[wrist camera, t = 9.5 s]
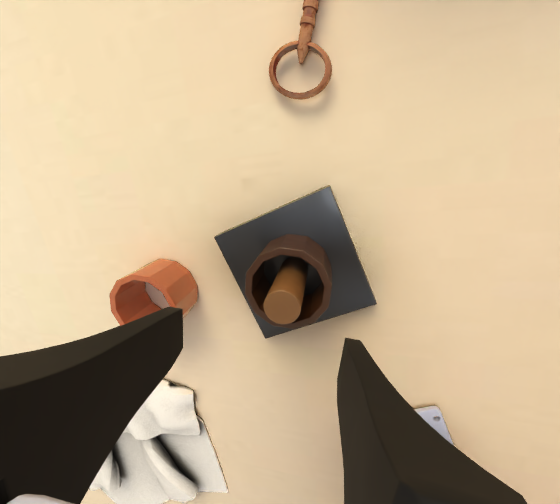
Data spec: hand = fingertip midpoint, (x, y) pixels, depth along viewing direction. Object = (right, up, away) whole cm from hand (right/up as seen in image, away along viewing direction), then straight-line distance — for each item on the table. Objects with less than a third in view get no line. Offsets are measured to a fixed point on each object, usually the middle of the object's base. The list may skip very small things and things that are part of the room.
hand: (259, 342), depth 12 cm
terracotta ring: (-9, +1, +12) cm, 15 cm away
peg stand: (+2, +3, +9) cm, 10 cm away
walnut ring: (+2, +3, +8) cm, 9 cm away
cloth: (-15, -17, +19) cm, 30 cm away
